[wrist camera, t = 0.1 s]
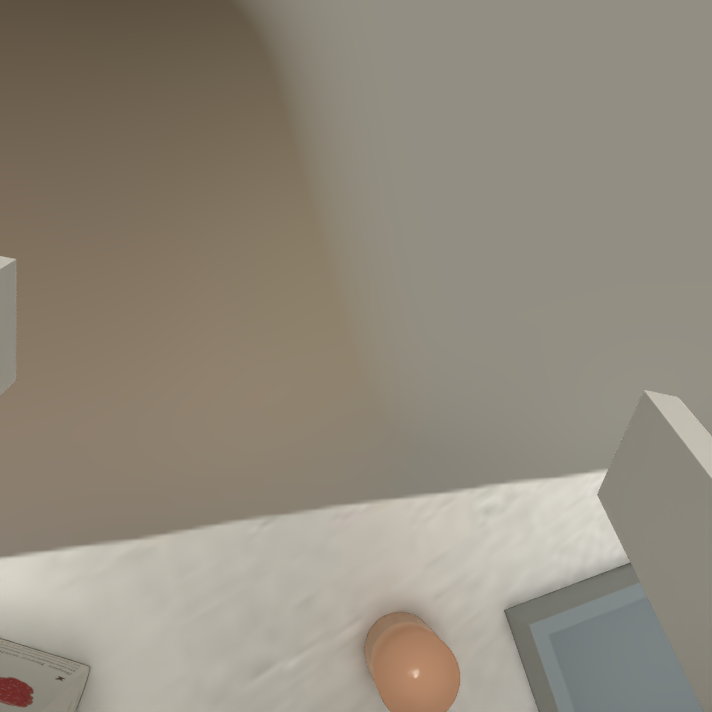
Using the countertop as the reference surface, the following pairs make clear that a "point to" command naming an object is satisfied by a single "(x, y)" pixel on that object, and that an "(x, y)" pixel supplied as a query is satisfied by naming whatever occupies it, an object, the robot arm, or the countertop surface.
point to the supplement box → (38, 680)
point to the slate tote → (599, 649)
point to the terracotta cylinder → (411, 665)
